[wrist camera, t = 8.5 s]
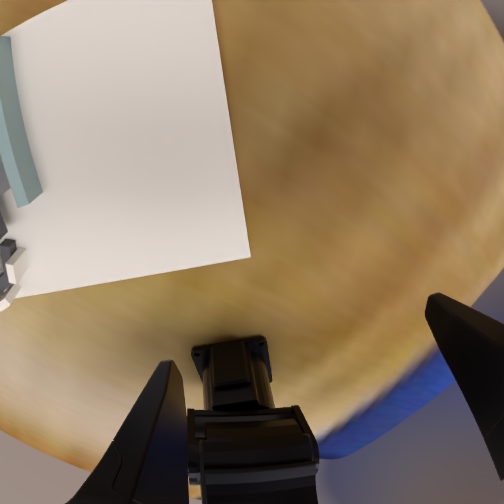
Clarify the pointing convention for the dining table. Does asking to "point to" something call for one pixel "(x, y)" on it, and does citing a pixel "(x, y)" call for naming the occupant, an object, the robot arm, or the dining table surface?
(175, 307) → the dining table surface
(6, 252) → the grey blocky piece
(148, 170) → the board
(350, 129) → the dining table surface
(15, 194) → the holder
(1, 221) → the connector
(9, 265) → the clips
